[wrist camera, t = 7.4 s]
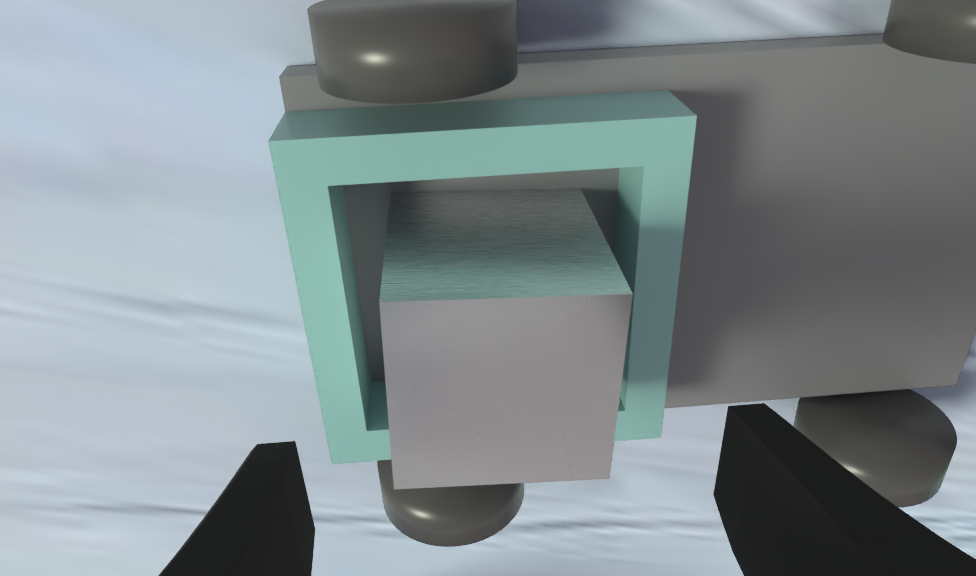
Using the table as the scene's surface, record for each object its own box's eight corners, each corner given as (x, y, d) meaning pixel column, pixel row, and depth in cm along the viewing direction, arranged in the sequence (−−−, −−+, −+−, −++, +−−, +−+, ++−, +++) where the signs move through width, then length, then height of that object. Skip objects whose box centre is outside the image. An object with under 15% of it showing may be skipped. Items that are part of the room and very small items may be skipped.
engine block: (567, 343, 19) (609, 478, 15) (400, 350, 19) (394, 489, 15) (580, 187, 17) (632, 293, 13) (390, 192, 17) (379, 301, 12)
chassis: (921, 403, 23) (1010, 497, 19) (353, 449, 22) (340, 556, 18) (1075, -45, 16) (1250, -24, 13) (274, -5, 15) (231, 29, 12)
